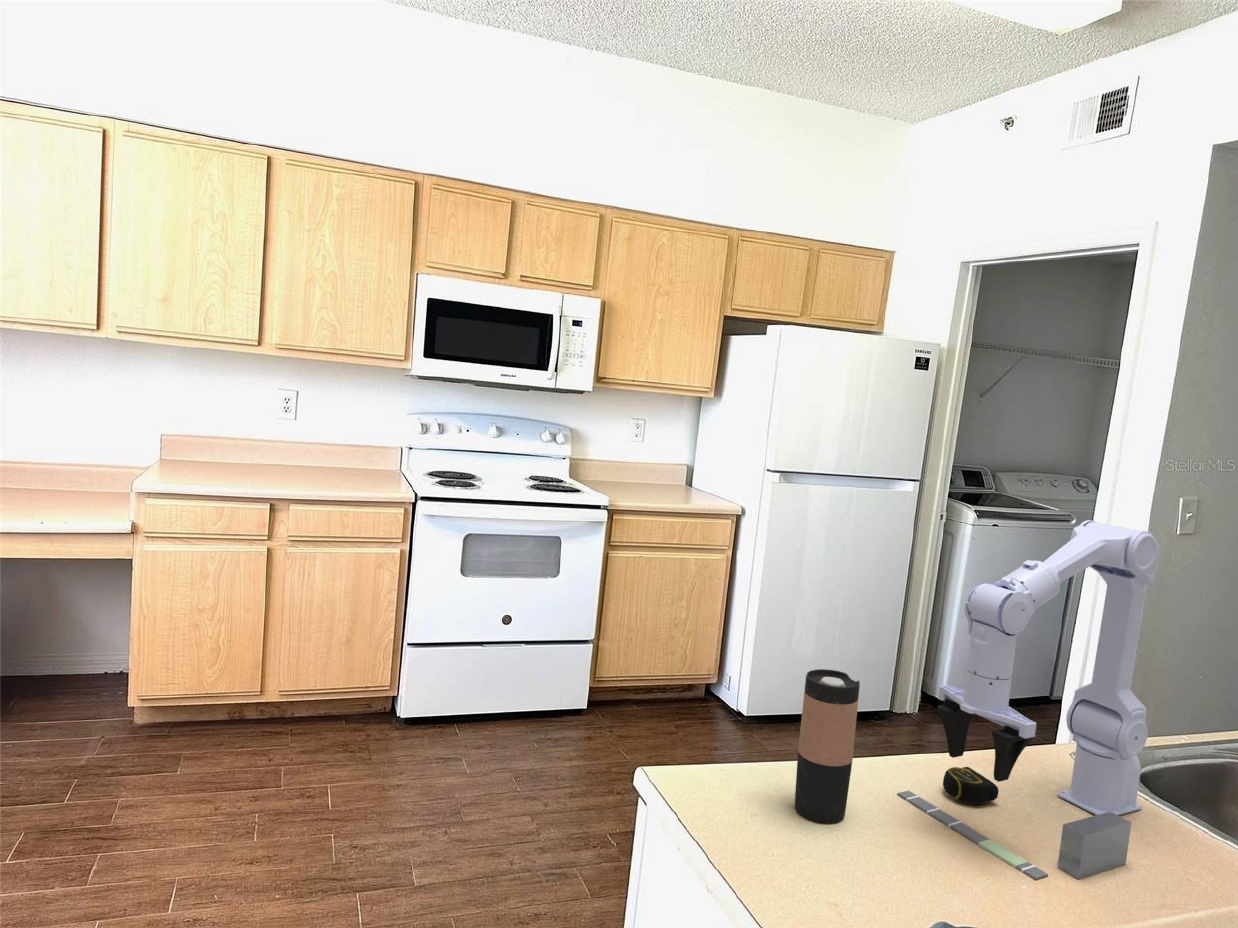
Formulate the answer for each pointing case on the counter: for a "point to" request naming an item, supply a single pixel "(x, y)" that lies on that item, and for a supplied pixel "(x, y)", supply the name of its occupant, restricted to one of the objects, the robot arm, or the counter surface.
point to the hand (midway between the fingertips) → (977, 767)
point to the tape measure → (969, 786)
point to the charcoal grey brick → (1094, 845)
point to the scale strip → (975, 836)
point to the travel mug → (826, 745)
